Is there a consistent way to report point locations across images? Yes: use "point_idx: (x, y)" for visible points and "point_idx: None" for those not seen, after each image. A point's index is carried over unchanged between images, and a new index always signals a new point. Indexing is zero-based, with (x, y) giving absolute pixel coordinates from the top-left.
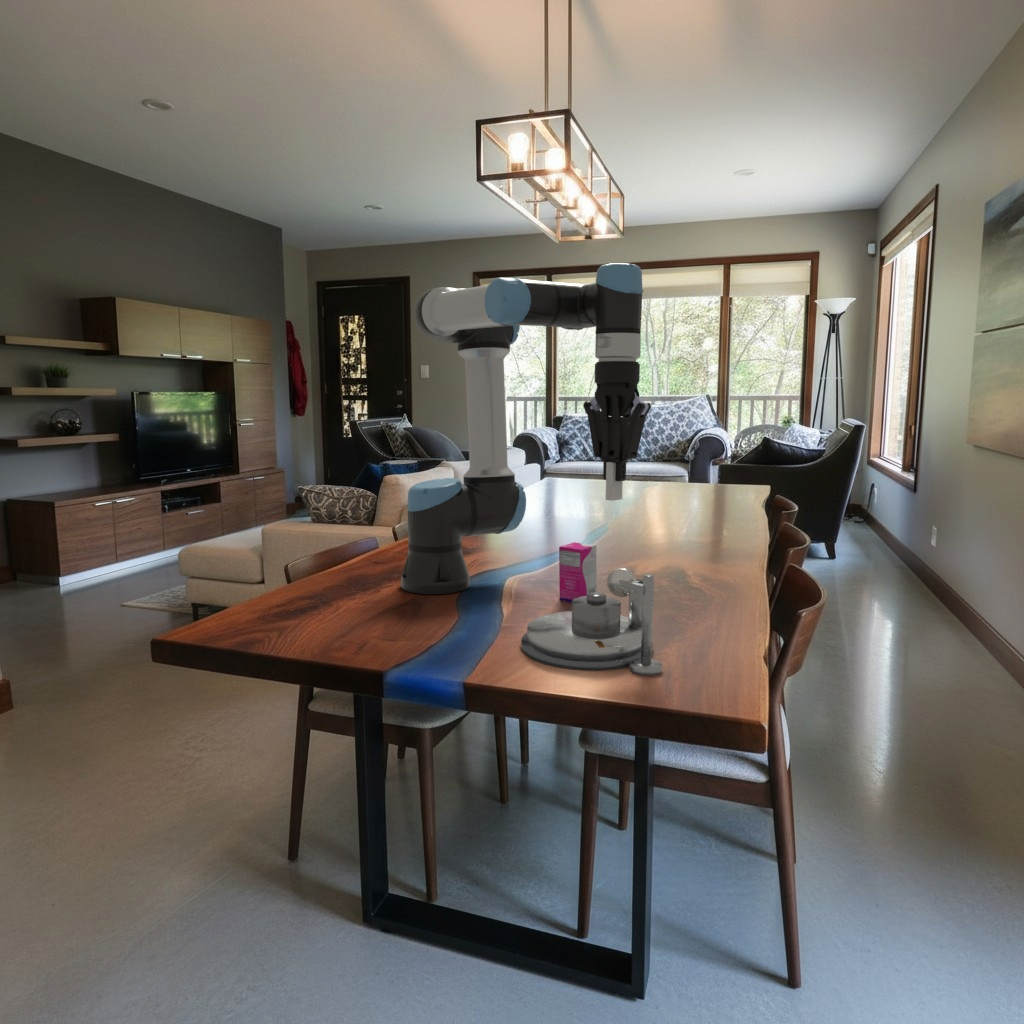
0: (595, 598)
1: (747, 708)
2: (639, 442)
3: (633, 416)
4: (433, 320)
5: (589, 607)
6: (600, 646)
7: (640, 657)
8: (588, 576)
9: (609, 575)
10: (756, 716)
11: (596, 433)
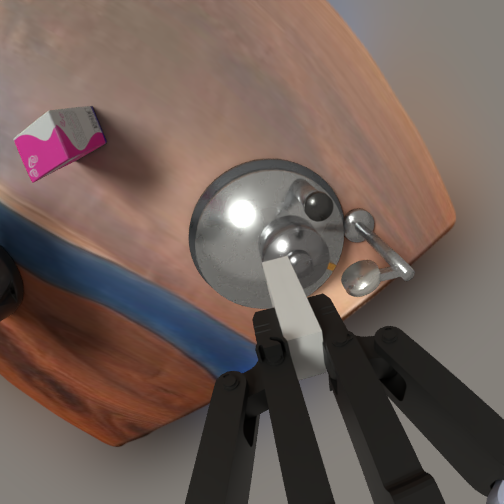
0: (308, 273)
1: (446, 209)
2: (441, 366)
3: (481, 479)
4: None
5: (311, 281)
6: (332, 269)
7: (343, 219)
8: (84, 130)
9: (352, 295)
10: (454, 215)
11: (249, 486)
